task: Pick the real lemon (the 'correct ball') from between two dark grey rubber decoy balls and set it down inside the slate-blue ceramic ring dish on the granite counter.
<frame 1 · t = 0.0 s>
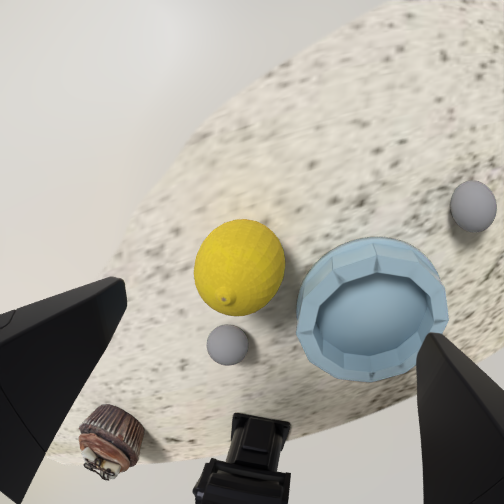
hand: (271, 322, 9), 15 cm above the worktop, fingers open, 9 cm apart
cupcake: (122, 420, 41), on the worktop
lemon: (253, 239, 24), on the worktop
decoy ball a: (232, 332, 28), on the worktop
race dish: (371, 306, 24), on the worktop
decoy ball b: (464, 199, 19), on the worktop
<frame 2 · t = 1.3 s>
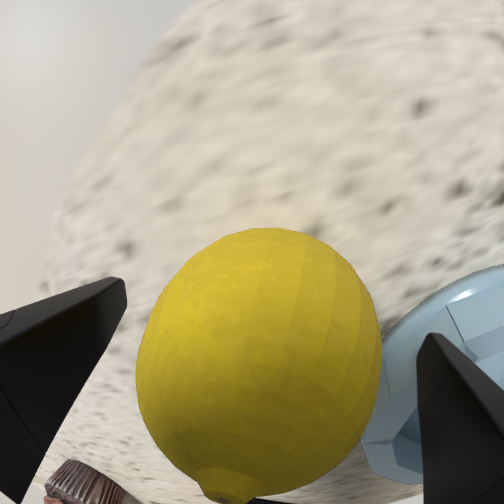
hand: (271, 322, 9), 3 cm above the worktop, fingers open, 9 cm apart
cupcake: (96, 476, 28), on the worktop
lemon: (283, 269, 11), on the worktop
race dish: (475, 377, 12), on the worktop
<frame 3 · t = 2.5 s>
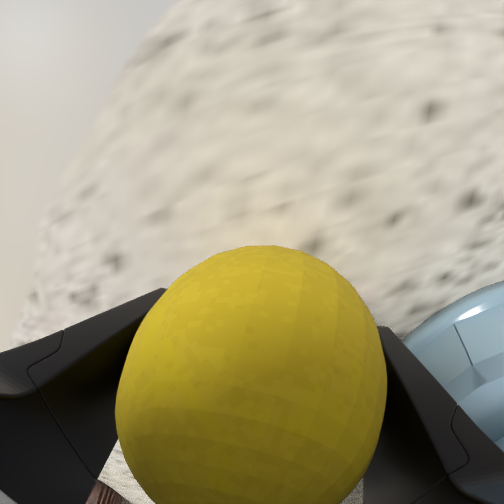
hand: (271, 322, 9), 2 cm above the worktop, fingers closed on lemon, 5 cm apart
cupcake: (93, 482, 27), on the worktop
lemon: (280, 284, 10), on the worktop, touching gripper
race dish: (480, 392, 11), on the worktop
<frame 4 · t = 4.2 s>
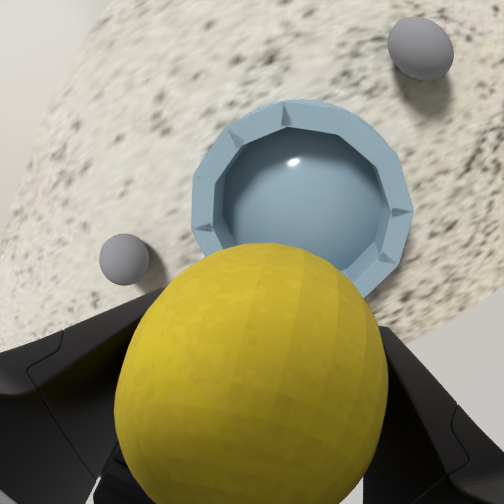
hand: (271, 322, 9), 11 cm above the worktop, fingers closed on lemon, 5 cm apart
lemon: (280, 282, 10), point 9 cm above the worktop, touching gripper
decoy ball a: (136, 248, 22), on the worktop
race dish: (302, 203, 19), on the worktop
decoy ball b: (411, 53, 14), on the worktop
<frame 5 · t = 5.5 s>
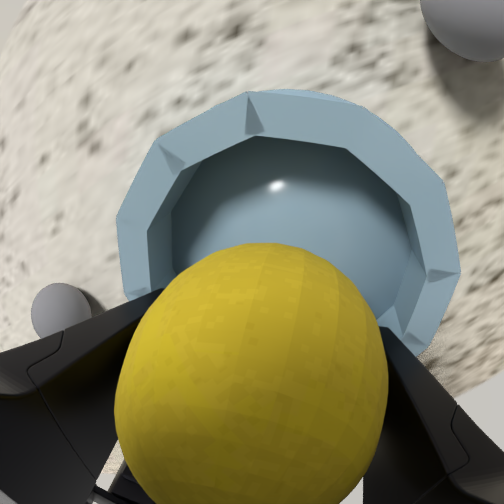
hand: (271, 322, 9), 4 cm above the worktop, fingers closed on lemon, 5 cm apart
lemon: (280, 282, 10), point 2 cm above the worktop, touching gripper
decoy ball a: (78, 298, 16), on the worktop
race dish: (288, 250, 13), on the worktop
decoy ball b: (452, 22, 7), on the worktop
when the fingers open (4 cm above the worktop, at t = 6.2 s): lemon drops 2 cm, resting on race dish.
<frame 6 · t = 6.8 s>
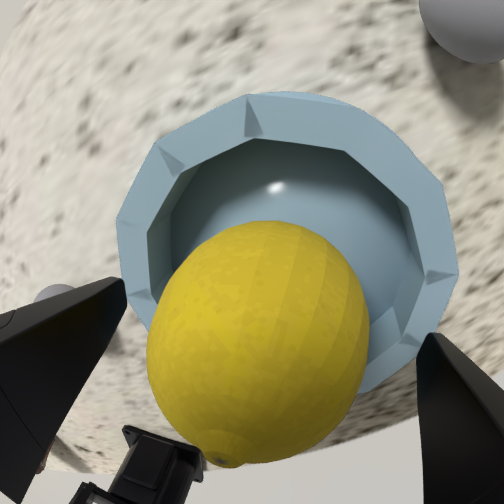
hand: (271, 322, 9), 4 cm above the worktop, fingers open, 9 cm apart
lemon: (284, 259, 12), point 1 cm above the worktop, touching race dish
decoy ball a: (78, 299, 16), on the worktop
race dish: (287, 251, 13), on the worktop
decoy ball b: (451, 24, 8), on the worktop
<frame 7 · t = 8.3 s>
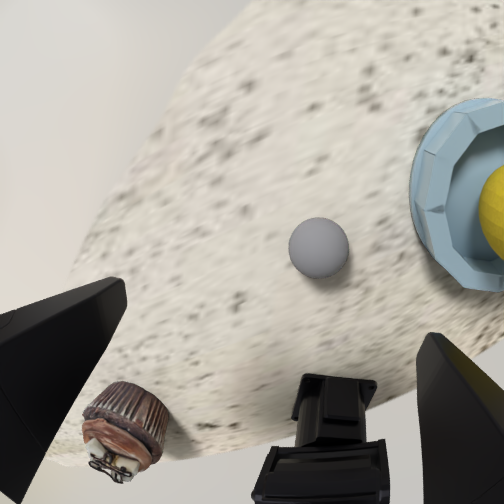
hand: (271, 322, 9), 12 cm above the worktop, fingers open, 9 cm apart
cupcake: (139, 403, 33), on the worktop
lemon: (492, 194, 16), point 1 cm above the worktop, touching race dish
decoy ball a: (318, 236, 20), on the worktop
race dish: (489, 191, 16), on the worktop
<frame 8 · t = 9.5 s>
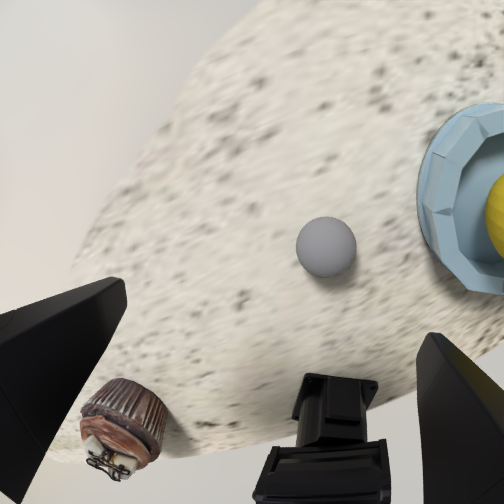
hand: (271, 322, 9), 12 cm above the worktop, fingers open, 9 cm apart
cupcake: (137, 400, 32), on the worktop
lemon: (498, 197, 16), point 1 cm above the worktop, touching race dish
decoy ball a: (325, 235, 20), on the worktop
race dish: (495, 194, 16), on the worktop
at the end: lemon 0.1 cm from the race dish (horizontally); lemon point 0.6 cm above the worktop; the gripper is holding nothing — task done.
